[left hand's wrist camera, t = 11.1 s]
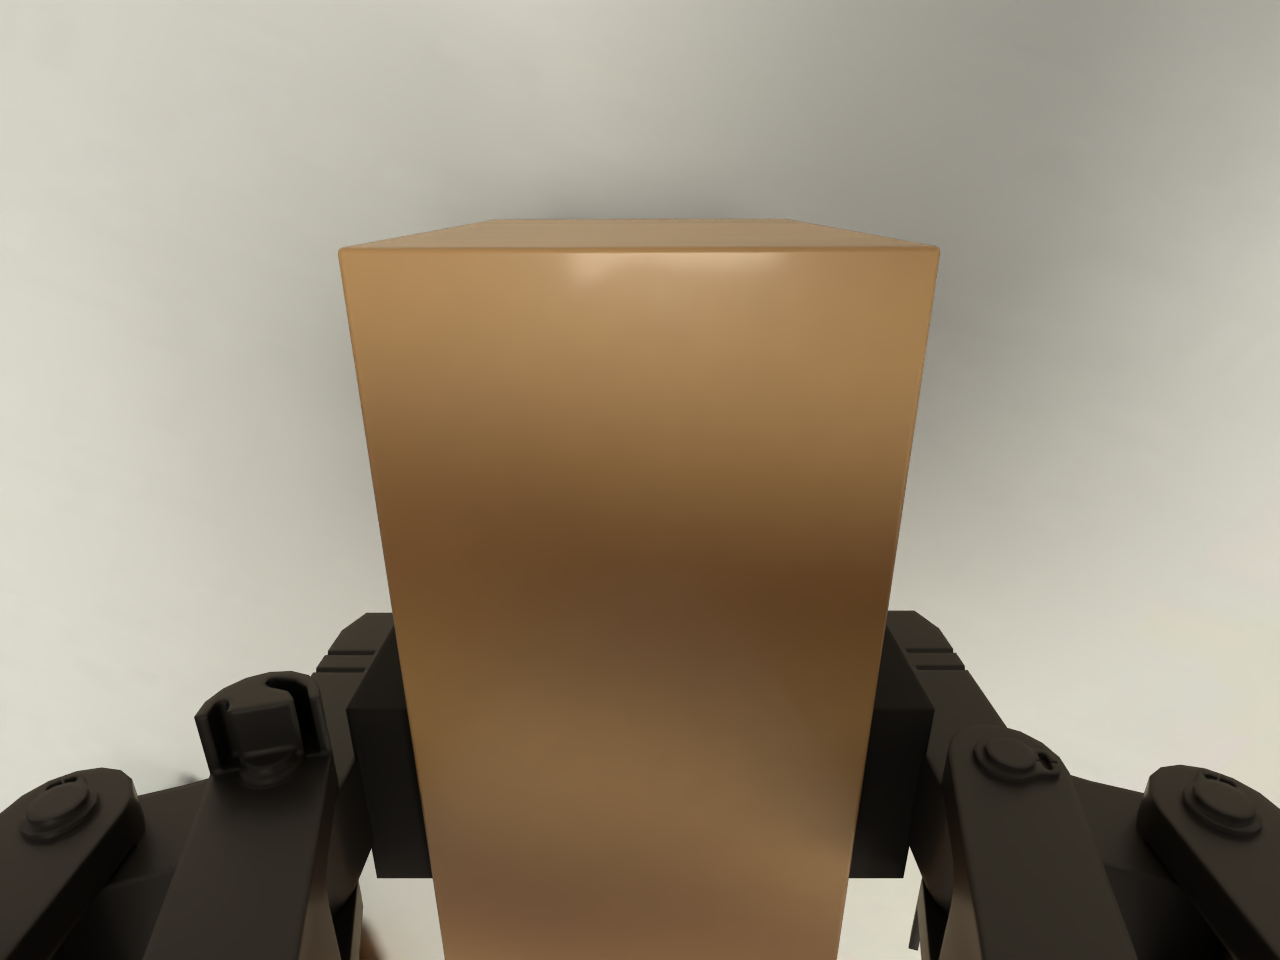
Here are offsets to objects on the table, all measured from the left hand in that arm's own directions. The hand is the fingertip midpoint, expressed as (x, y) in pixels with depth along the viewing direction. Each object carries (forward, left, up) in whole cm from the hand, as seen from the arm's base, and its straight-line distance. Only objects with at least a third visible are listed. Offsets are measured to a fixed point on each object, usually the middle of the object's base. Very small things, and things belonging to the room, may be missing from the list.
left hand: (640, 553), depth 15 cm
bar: (+10, +30, -1) cm, 32 cm away
